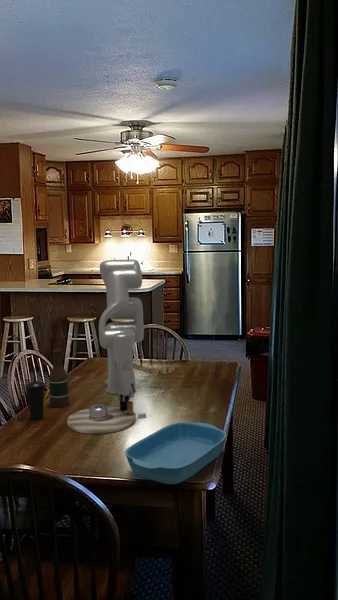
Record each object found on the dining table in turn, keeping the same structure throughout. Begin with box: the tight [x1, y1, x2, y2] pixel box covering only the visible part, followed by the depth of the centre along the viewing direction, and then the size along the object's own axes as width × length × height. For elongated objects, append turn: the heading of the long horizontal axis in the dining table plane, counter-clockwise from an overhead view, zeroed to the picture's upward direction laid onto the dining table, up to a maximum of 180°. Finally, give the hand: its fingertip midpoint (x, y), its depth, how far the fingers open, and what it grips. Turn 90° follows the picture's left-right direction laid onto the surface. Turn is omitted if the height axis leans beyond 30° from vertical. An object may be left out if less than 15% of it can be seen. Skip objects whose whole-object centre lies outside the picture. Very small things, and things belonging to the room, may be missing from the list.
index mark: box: [137, 412, 147, 419], centre depth 203 cm, size 3×1×2 cm, turn 102°
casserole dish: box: [124, 421, 228, 485], centre depth 161 cm, size 37×22×7 cm, turn 146°
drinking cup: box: [24, 367, 46, 421], centre depth 204 cm, size 8×8×20 cm
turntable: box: [66, 400, 137, 435], centre depth 199 cm, size 26×26×6 cm
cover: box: [88, 404, 109, 421], centre depth 199 cm, size 8×8×4 cm
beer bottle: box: [48, 348, 70, 409], centre depth 218 cm, size 8×8×24 cm
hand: (124, 410), depth 204 cm, fingers closed
